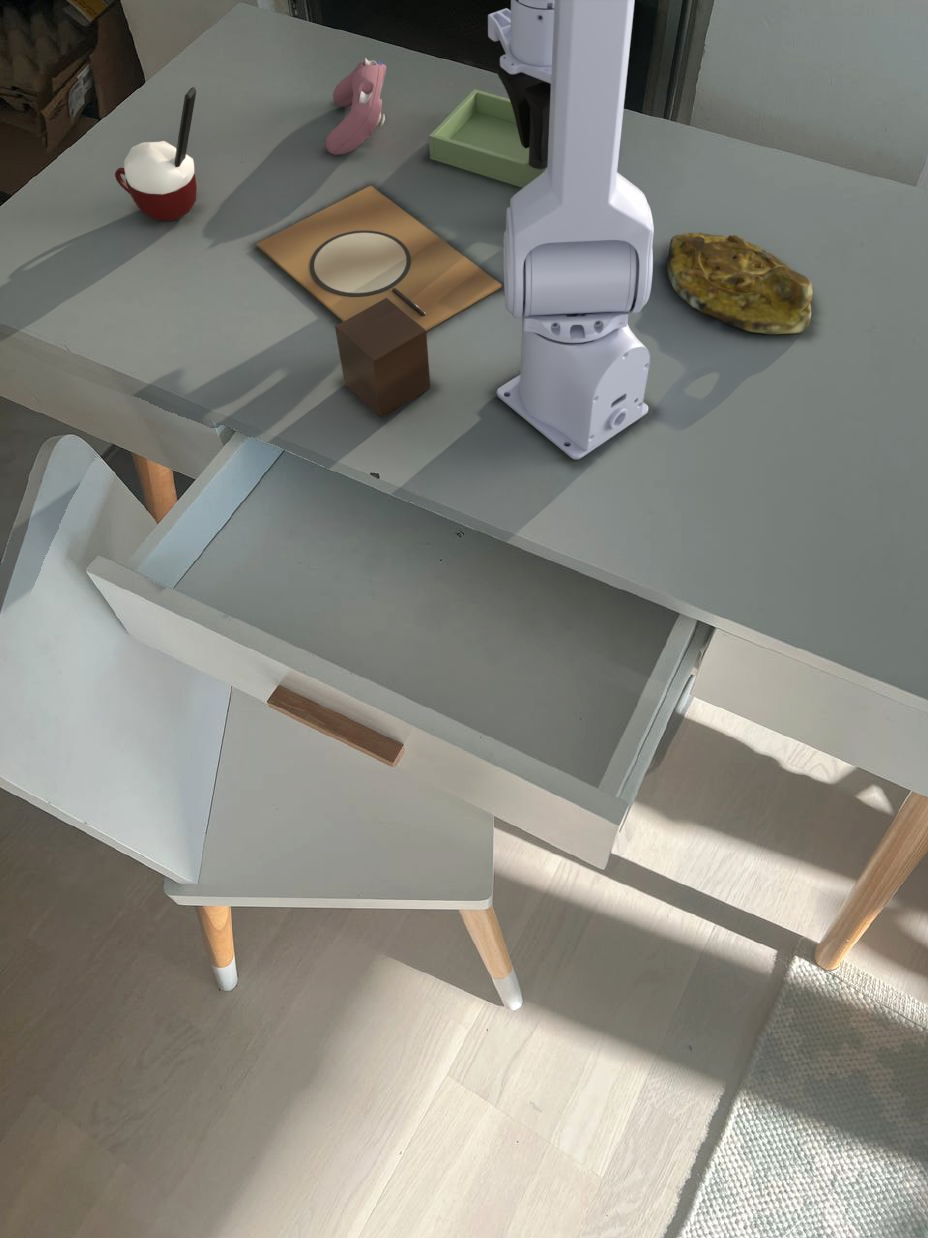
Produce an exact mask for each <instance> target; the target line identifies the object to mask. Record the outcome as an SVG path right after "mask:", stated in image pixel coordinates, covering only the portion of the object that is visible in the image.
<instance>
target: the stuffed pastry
mask: <svg viewBox="0 0 928 1238" xmlns="http://www.w3.org/2000/svg"><path fill="white" fill-rule="evenodd" d="M668 247H669V249H668V255H667V263H666V270H667V276H668V280H669V282H670V284H671V286H672V288H673V289H674V291H675V293H676V294H677V295H678V296H679V297H680V298H681V299H682V300H683V301H685V302H686V303H687V304H688V305H690V306H691V307H692V308H694V309H696V310H697V311H699V312H700V313H701V314H705V315H708V316H709V317H712V318H715V319H717V320H719V321H721V322H723V323H725V324H727V325H730V326H731V327H735V328H738V329H740V330H743V331H746V332H751V333H758V334H765V335H786V334H787V335H788V334H791V335H792V334H800V333H802V332H805V331H806V330H807V329H808V327H809V325H810V322H811V318H812V308H811V307H812V306H811V301H812V300H813V295H814V294H813V293H814V291H813V282H812V281H810V280H809V279H808V277H806V276H805V275H804V274H801V273H799V272H797V271H795V270H794V269H792V268H791V267H790V266H788V265H787V264H786V263H785V262H783V261H782V260H781V259H780V258H778V257H776V256H775V255H774V254H773V253H771V252H769V251H767V250H765V249H763V248H761V247H760V246H758V245H756V244H753V243H751V242H749V241H745V238H744V237H741V236H738V235H736V234H729V236H727V235H721V234H709V233H702V232H686V233H681V234H680V233H679V234H675V235H674V236H672V238H670V242H669V246H668Z"/></svg>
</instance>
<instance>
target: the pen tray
mask: <svg viewBox="0 0 928 1238" xmlns="http://www.w3.org/2000/svg"><path fill="white" fill-rule="evenodd" d="M428 141H429V142H428V144H429V145H428V146H429V159H430V160H433V161H435V162H439V163H443V164H445V165H448V166H452V167H456V168H459V169H462V170H465V171H468V172H471V173H473V174H474V173H475V174H477V175H481V176H484V177H487V178H490V179H493V180H496V181H500V182H503V183H507V184H508V185H513V186H515V187H519V188H521V189H523V188H524V187H525V186H526V185H528V184H529V183H530V182H532V181H533V180H534V179H536V178H537V177H538V176H539V175H541V174H542V173H543V172H544V171H545V170H546V169H547V167H546V168H543V169H536V168H533V167H531V166H530V165H529V148H526V149H525V148H524V147H523V146H522V144H521V141H520V137H519V133H518V128H517V124H516V119H515V115H514V111H513V108H512V105H511V102H510V99H509V97H508V98H507V97H504V96H500V95H497V94H493V93H489V92H487V91H483V90H480V89H476V88H474V89H473V90H472V91H471V92H470V93H469V94H468V95H467V96H466V97H465V98H464V99H463V100H462V101H461V102H460V103H459V104H457V106H456V107H455V108H454V109H453V110H452V111H451V112H450V113H449V114H448V115H447V116H446V118H445V119H444V120H442V121H441V123H439V125H438V126H437V127H435V129H434V130H433V131H432V132H431V133H430V134H429V135H428Z"/></svg>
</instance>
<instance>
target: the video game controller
mask: <svg viewBox="0 0 928 1238" xmlns="http://www.w3.org/2000/svg"><path fill="white" fill-rule="evenodd" d="M386 72H387V65H386V64H384V63H382V62H381V61H378V60H377V61H376V60H375V59H372V60H368V59H367V57H364V60H360V61H359V62H358V63H357V64H356V67H355V68H354V69H353V70H352V71H351V72H350V73H349V74H347V76H345V77H344V78H343V79H341V81H339V82H338V84H336V86H335V88H334V89H333V93H332V99H333V102H334V103H335V104H336V105H337V106H338V107H341V108H348V107H351V108H350V111H349V113H348V114H347V115H346V117H344V119H343V120H342V121H341V122H340V123H339V124H337V126H335V127H333V129H331V131H330V132H329V134H328V135H327V136H326V139H325V148H326V150H327V152H329V153H330V154H331V155H334V156H339V155H344V154H345V155H346V154H347V153H350V152H352V151H355V149H356V148H358V147H359V146H361V145H362V144H363V143H364V142H365V141H366V140H367V139H368V138H369V137H370V136H372V135H373V133H374V131H375V129H376V127H377V126H378V127H379V128H381V127H382V126H384V124H385V121H386V117H385V114H384V113H383V114H382V107H383V99H382V98H380V97H381V91H382V89H383V85H384V81H385V77H386Z"/></svg>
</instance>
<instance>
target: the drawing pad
mask: <svg viewBox="0 0 928 1238" xmlns="http://www.w3.org/2000/svg"><path fill="white" fill-rule="evenodd" d="M256 247H257V248H258V249H259V250H261V252H263V253H264V254H265V255H266V256H267V257H268V258H270V259H271V260H272V261H273V262H274V263H275V264H276V265H278V266H279V267H280V268H281V269H282V270H283V271H284V272H286V274H288V275H289V276H290V277H291V278H292V279H293V280H295V281H296V283H298V284H299V285H300V286H301V287H303V288H304V289H305V290H306V291H307V292H308V293H310V295H312V296H313V297H314V298H315V299H317V300H318V301H319V302H320V303H321V304H322V305H324V306H325V307H326V308H327V309H328V310H329V311H331V312H332V314H334V315H335V316H336V317H337V318H338V319H339V320H340V321H342V322H344V321H345V320H347V319H349V318H351V317H353V316H354V315H356V314H358V313H360V312H362V311H363V310H365V309H367V308H369V307H371V306H372V305H374V304H376V303H378V302H379V301H381V300H383V299H385V298H388V299H389V300H390V301H391V302H392V303H394V304H395V305H396V306H397V307H399V308H400V309H401V310H402V311H403V312H405V313H406V314H407V315H408V316H409V317H411V318H412V319H413V320H414V321H415V322H417V323H418V324H419V325H420V326H421V327H423V328H424V329H425V330H426V332H427V331H429V330H431V329H432V328H435V327H436V326H438V325H439V324H441V323H442V322H444V321H446V320H447V319H449V318H451V317H453V316H454V315H456V314H458V313H460V312H462V311H463V310H465V309H467V308H468V307H470V306H472V305H473V304H475V303H477V302H478V301H480V300H482V299H484V298H486V297H487V296H490V295H491V294H492V293H494V292H496V291H498V290H499V289H500V288H502V284H501V283H500V282H499V281H497V280H496V279H495V278H493V277H492V276H491V275H490V274H488V273H487V272H486V271H484V270H483V269H482V268H480V267H479V266H478V265H477V264H475V263H473V262H472V261H471V260H469V258H467V257H466V256H464V255H463V254H462V253H460V252H459V251H458V250H457V249H455V248H454V247H452V246H451V244H449V243H447V242H446V241H445V240H443V239H442V238H441V237H439V236H438V235H437V234H435V233H434V232H433V231H431V230H430V229H428V228H427V227H426V226H425V225H424V224H422V223H421V222H419V220H417V219H415V218H414V217H413V216H412V215H410V214H409V213H408V212H406V211H405V210H404V209H402V208H401V207H400V206H398V205H397V204H396V203H394V202H393V201H392V200H391V199H389V198H388V197H387V196H385V195H384V194H382V193H381V192H380V191H379V190H378V189H376V187H375V188H374V187H373V186H372V185H369V186H366V187H365V188H362V189H361V190H358V191H357V192H355V193H353V194H351V195H349V196H347V197H345V198H343V199H341V200H340V201H338V202H335V203H333V204H331V205H330V206H327V207H326V208H324V209H322V210H320V211H318V212H316V213H313V214H312V215H310V216H308V217H306V218H304V219H302V220H300V221H298V222H296V223H294V224H292V225H290V226H288V227H286V228H284V229H282V230H280V231H278V232H277V233H275V234H272V235H271V236H269V237H266V238H264V239H263V240H261V241H259V242H256Z"/></svg>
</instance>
